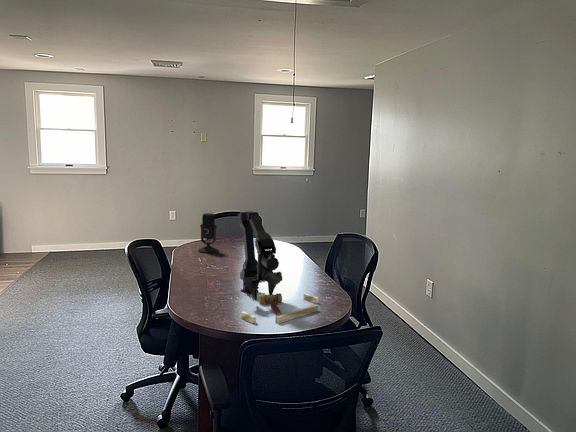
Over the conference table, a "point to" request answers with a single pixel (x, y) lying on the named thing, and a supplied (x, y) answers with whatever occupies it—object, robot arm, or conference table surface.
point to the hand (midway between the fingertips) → (262, 298)
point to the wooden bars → (289, 315)
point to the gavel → (271, 301)
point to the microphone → (208, 233)
